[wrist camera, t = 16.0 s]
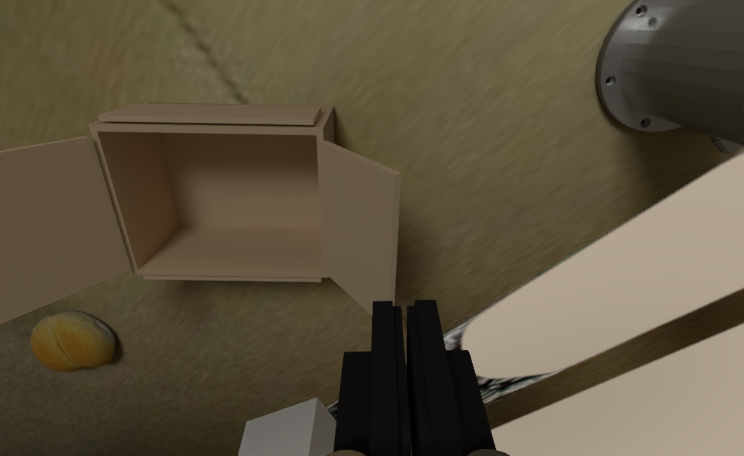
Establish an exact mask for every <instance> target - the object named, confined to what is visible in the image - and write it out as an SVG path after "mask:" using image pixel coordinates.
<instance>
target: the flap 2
mask: <svg viewBox="0 0 744 456" xmlns="http://www.w3.org/2000/svg"><path fill="white" fill-rule="evenodd" d="M320 145H321V169H322V193H323V217H324V241H325V265H326V274H327V275H328V276H329V277H330V278H331V279H332V280H333V281H334V282H336V283H337V284H338V285H339V286H340V287H341V288H342V289H343V290H344V291H345V292H346V293H348V294H349V295H350V296H351V297H352V298H353V299H354V300H355V301H356V302H357V303H359V304H360V305H361V306H362V307H363V308H364V309H365V310H366V311H367V312H368V313H369V314H371V315H372V309H373V301H393V306H394V303H395V284H396V265H397V246H398V228H399V209H400V190H401V173H400V172H397V171H395V170H393V169H391V168H388V167H386V166H384V165H381V164H379V163H377V162H375V161H372V160H370V159H368V158H365V157H363V156H361V155H359V154H356V153H354V152H352V151H349V150H347V149H345V148H343V147H340V146H338V145H336V144H333V143H331V142H329V141H320Z"/></svg>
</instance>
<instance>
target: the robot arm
mask: <svg viewBox="0 0 744 456" xmlns="http://www.w3.org/2000/svg"><path fill="white" fill-rule="evenodd" d="M637 9H638V12H637V14H636V11H637ZM607 78H608V81H607V82H606V80H607ZM596 82H597V90H598V94H599V97H600V100H601V102H602V105H603V106H604V108H605V109H606V111H607V112H608V114H609V115H611V116H612V117H613V118H614V119H615V120H616V121H617V122H619V123H621V124H623V125H625V126H627V127H629V128H632V129H635V130H638V131H644V132H664V131H669V130H673V129H677V128H680V127H682V126H685V127H688V128H691V129H694V130H698V131H700V132H703V133H707V134H708V135H709V136H710V139H711V141H712V142H713V143H714V145H715V146H716V147H717V149H718V150H719V151H720V152H721V153H724V154H725V153H732V152H735V151H737V150H739V149H740V148H742V147H743V145H744V0H634V1H633V2H632V3H631V4H630V5H629V6H628V7H627V8H626V9H625V10H624V11H623V12H622V14H621V15H620V16H619V17H618V19H617V20H616V21H615V23H614V24H613V26H612V28H611V29H610V31H609V33H608V34H607V36H606V39H605V41H604V43H603V46H602V48H601V51H600V55H599V59H598V63H597V74H596ZM641 121H642V122H641ZM410 436H411V440H410ZM411 449H412V456H510V455H508V454H506V453H504V452H501V451H497V450H496V448H495V444H494V441H493V437H492V433H491V429H490V426H489V422H488V418H487V415H486V411H485V407H484V404H483V400H482V396H481V393H480V389H479V385H478V382H477V378H476V374H475V371H474V367H473V363H472V360H471V356H470V353H469V351H468V350H446V348H445V344H444V339H443V334H442V329H441V324H440V319H439V314H438V309H437V304H436V300H415V305H414V306H407V380H406V367H405V354H404V340H403V327H402V314H401V306H393V301H373V309H372V348H371V351H367V352H344V357H343V366H342V375H341V384H340V393H339V402H338V412H337V421H336V430H335V439H334V448H333V453H330V454H328V455H327V456H411Z"/></svg>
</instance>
